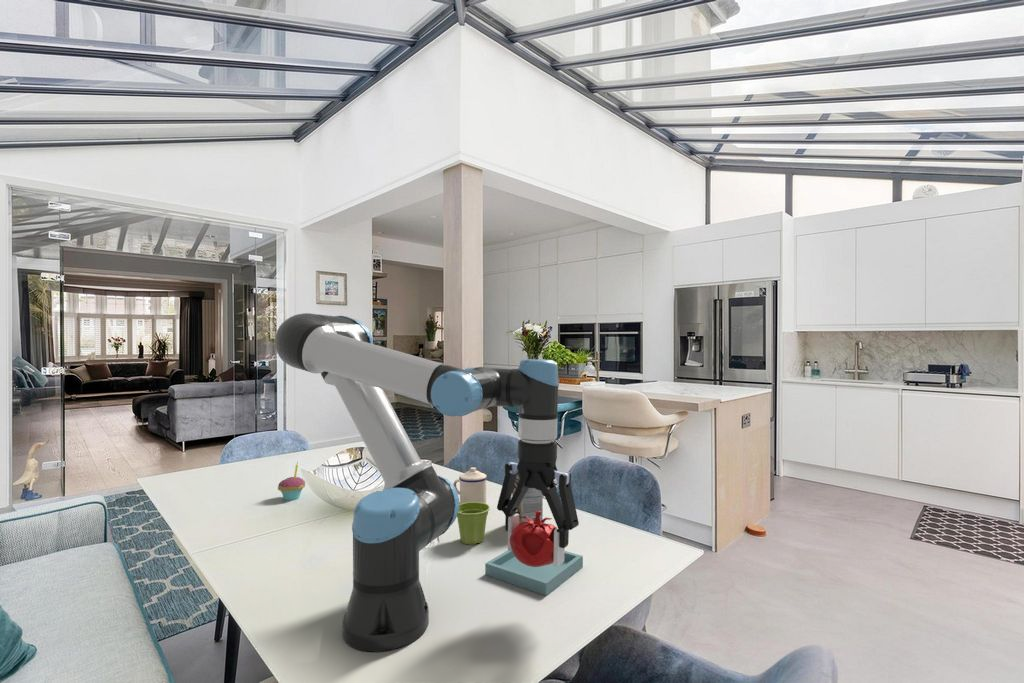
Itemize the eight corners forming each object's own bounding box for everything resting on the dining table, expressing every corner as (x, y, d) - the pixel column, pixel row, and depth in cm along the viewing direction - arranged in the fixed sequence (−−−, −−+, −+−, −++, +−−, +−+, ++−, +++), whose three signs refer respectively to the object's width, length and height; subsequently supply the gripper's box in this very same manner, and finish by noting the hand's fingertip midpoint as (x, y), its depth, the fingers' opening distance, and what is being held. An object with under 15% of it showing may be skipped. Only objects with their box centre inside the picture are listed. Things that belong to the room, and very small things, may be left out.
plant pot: (484, 549, 121) (484, 514, 121) (449, 546, 123) (449, 512, 123) (493, 535, 130) (493, 503, 130) (460, 532, 132) (460, 501, 132)
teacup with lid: (491, 501, 159) (491, 466, 159) (478, 509, 150) (478, 472, 151) (460, 496, 164) (460, 462, 164) (446, 504, 156) (446, 468, 156)
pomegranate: (502, 554, 94) (502, 506, 95) (547, 546, 98) (547, 501, 98) (521, 575, 85) (521, 523, 86) (571, 566, 89) (571, 516, 89)
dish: (546, 595, 97) (546, 583, 98) (485, 574, 107) (485, 563, 107) (582, 566, 110) (582, 555, 110) (525, 550, 120) (525, 540, 120)
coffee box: (511, 521, 140) (511, 466, 140) (532, 519, 142) (531, 464, 142) (521, 533, 131) (521, 474, 131) (543, 530, 133) (543, 472, 133)
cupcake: (296, 493, 169) (297, 459, 169) (310, 497, 164) (310, 462, 164) (272, 499, 162) (273, 464, 162) (286, 504, 157) (286, 467, 157)
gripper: (599, 444, 89) (597, 565, 88) (502, 430, 102) (500, 535, 101) (580, 451, 82) (577, 581, 82) (480, 434, 96) (477, 546, 95)
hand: (535, 555), depth 92 cm, fingers closed on pomegranate, 10 cm apart
